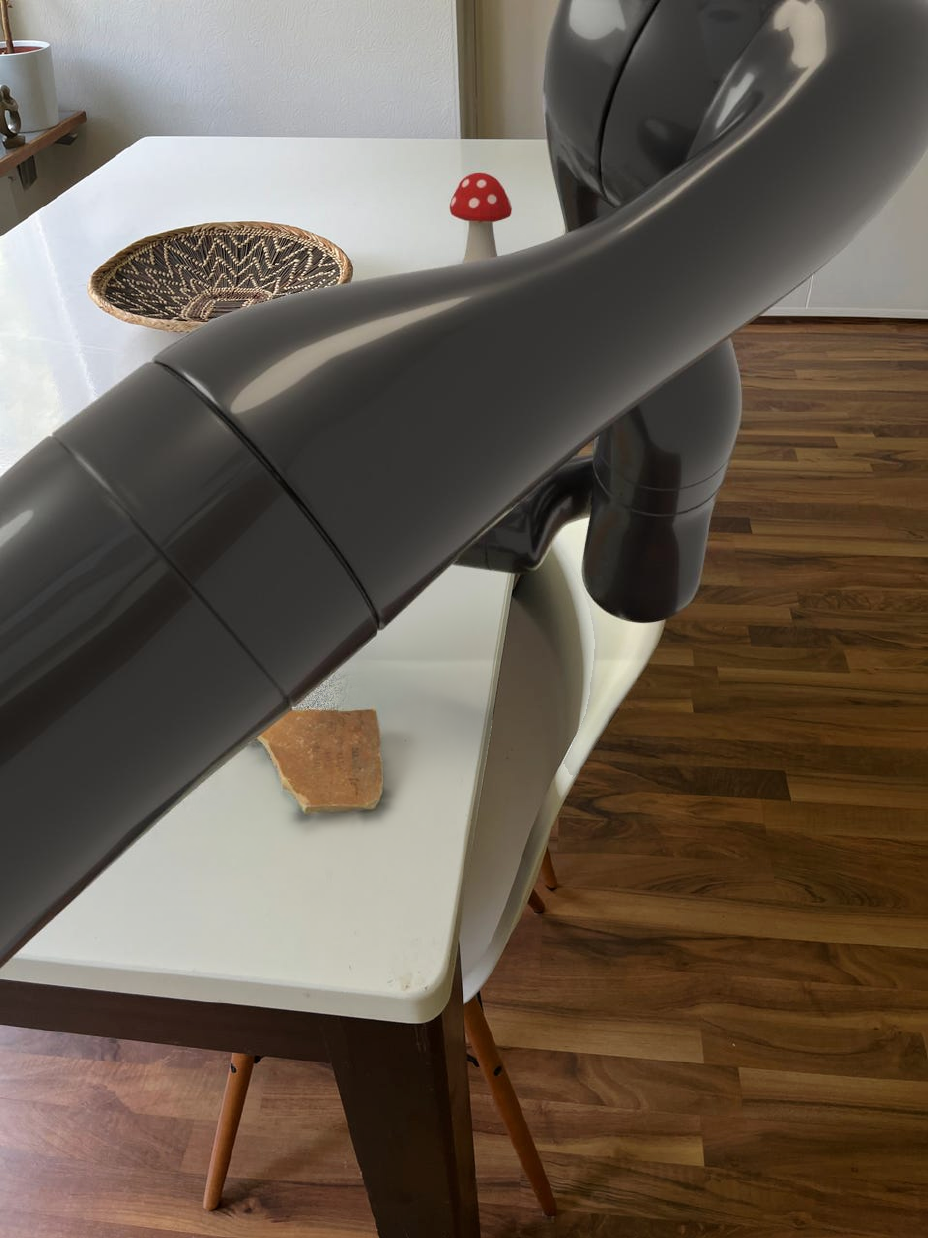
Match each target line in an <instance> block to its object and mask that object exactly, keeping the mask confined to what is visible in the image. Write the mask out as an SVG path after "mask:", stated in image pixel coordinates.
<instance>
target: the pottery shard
mask: <svg viewBox="0 0 928 1238" xmlns="http://www.w3.org/2000/svg"><path fill="white" fill-rule="evenodd" d="M377 713H378V712H377V709H375V708H363V709H355V710H338V709H323V708H322V709H318V708H314V709H313V708H312V709H292V710H291V711H290V712H288V713H287V714H286V715H285V716H283V717H282V718H281V719H280V720H278V721H277V722H276V723H275V724H274V725H272V726H271V727H270V728H269V729H267V730H266V731H265V732H264V733H262V734H261V735H260V736H259V737H257V738H256V739H255V740H257V741H258V742H259V743H261V744H262V745H263V747H264V748H265V749H266V751H267V752H268V754H269V757H270V759H271V761H272V762H273V764H274V766H275V767H276V769H277V771H278V774H279V780H280V783H281V788H282V789H284V790H286V791H287V792H288V793H290V794H291V795H292V796H293V797H294V799H295V800H296V801H297V802H298V804H299V805H300V808H301V809H302V812H303V813H304V814H305V815H312V814H314V813H323V812H333V813H334V812H335V813H337V812H339V813H340V812H350V811H351V812H352V811H357V810H374V809H376V806H377V805H378V803H379V802H380V799H381V797H382V795H383V786H384V785H383V784H384V783H383V782H384V780H383V758H382V757H381V753H380V747H381V744H382V738H381V731H380V726H379V725H380V724H379V719H378V714H377Z"/></svg>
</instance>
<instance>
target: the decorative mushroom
mask: <svg viewBox="0 0 928 1238" xmlns="http://www.w3.org/2000/svg"><path fill="white" fill-rule="evenodd" d="M512 211H513V208H512V203H511V200H510V198H509V197H508V195H507V193H506V191H505V188H504V187H503V185H502V184H501V182H500V181H499V180H498V179H497V178H496V177H494V176H493V175H491V174H489V173H486V172H473V173H471V174H468V175H466V176H465V177H464V178H462V179H461V180H460V182H459V183H458V185H457V187H456V189H455V191H454V194H453V196H452V198H451V199H450V204H449V212H450V214H451V215H452V216H453V217H455V218H458V219H460V220H463V221H466V222H468V232H467V239H466V246H465V252H464V257H463V260H462V263H461V264H463V263H468V262H473V261H478V260H483V259H487V258H492V257H497V256H498V253H497V247H496V239H495V233H494V223H495V222H499V221H503V220H505V219H508V218H510V217H511V215H512Z"/></svg>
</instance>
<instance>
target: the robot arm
mask: <svg viewBox="0 0 928 1238" xmlns="http://www.w3.org/2000/svg"><path fill="white" fill-rule="evenodd" d="M544 54H545V55H544V59H543V60H544V62H543V71H542V115H543V123H544V132H545V141H546V147H547V152H548V157H549V163H550V166H551V172H552V177H553V182H554V185H555V189H556V193H557V198H558V202H559V206H560V210H561V211H560V212H561V215H562V219H563V224H564V227H565V234H562V235H560V236H558V237H555V238H553V239H551V240H549V241H545V242H542V243H539V244H536V245H532V246H530V247H527V248H523V249H520V250H517V251H514V252H511V253H508V254H502V255H497V257H492V258H487V259H483V260H478V261H473V262H468V263H463V264H462V263H459V264H453V265H447V266H439V267H433V268H428V269H421V270H414V271H408V272H403V273H396V274H389V275H384V276H378V277H372V278H367V279H362V280H356V281H349V282H344V283H340V284H339V283H338V284H335V285H329V286H324V287H320V288H314V289H310V290H304V291H300V292H294V293H290V294H286V295H283V296H280V297H276V298H273V299H269V300H266V301H263V302H259V303H255V304H252V305H249V306H244V307H242V308H238V309H234V310H232V311H230V312H227V313H225V314H223V315H219V316H218V317H215V318H212V319H211V320H209V321H207V322H205V323H202V324H201V325H199V326H197V327H196V328H194V329H192V330H191V331H188V332H187V333H186V334H184V335H183V336H181V337H180V338H178V339H177V340H175V341H174V342H172V343H171V344H169V345H168V346H166V347H165V348H163V349H162V350H161V351H159V352H158V353H157V354H155V355H153V356H152V358H151V360H150V361H147V362H144V363H143V364H142V365H140V366H139V367H138V368H136V369H135V370H134V371H131V373H130V374H128V375H127V376H125V378H123V379H122V380H120V381H119V382H118V383H117V384H115V385H114V386H112V387H111V388H109V390H107V391H106V392H104V393H103V394H102V395H100V396H99V397H97V398H96V399H95V400H93V402H91V403H90V404H88V405H87V406H86V407H84V408H83V409H82V410H81V411H79V412H78V413H76V414H75V415H74V416H73V417H71V418H70V419H68V420H67V421H65V422H64V423H63V424H62V425H60V426H59V427H57V428H56V429H55V430H54V431H52V432H51V435H47V436H46V437H45V438H43V439H42V440H41V441H40V442H38V443H37V444H36V445H35V446H33V448H31V449H30V450H29V451H28V452H27V453H26V454H24V455H23V456H22V457H21V458H20V459H19V460H18V461H15V463H14V464H13V465H11V467H9V468H8V469H7V470H6V471H5V472H4V473H3V474H2V475H0V970H1V969H2V968H3V967H4V966H5V965H6V964H7V963H8V962H9V961H10V960H11V959H13V957H15V956H16V955H17V954H18V952H20V950H22V949H23V948H24V947H25V946H26V945H27V944H29V942H30V941H31V940H32V939H33V938H34V937H35V936H36V935H37V934H39V933H40V932H41V931H42V930H43V929H44V928H45V927H46V926H47V925H49V923H51V922H52V921H53V920H54V919H55V918H56V917H57V916H58V915H59V914H61V912H63V911H64V910H65V909H66V908H67V907H68V906H69V905H71V904H72V903H73V902H74V901H75V900H76V899H77V898H78V897H79V896H80V895H81V894H82V893H84V891H86V890H87V889H88V888H89V887H90V886H91V885H92V884H93V883H94V882H95V881H96V880H97V879H98V878H100V876H102V875H103V874H104V873H105V872H106V871H107V870H108V869H109V868H110V867H112V866H113V865H114V864H115V862H117V861H118V860H119V859H120V858H121V857H122V856H124V854H125V853H126V852H127V851H129V850H130V849H131V848H132V847H133V846H134V845H136V843H137V842H138V841H139V840H141V839H142V838H143V837H144V836H145V835H146V834H147V833H148V832H150V831H151V829H152V828H153V827H155V826H156V825H157V824H158V823H159V822H160V821H162V820H163V818H164V817H166V816H167V815H168V814H169V813H170V812H171V811H173V809H174V808H175V807H177V806H178V805H179V804H181V802H182V801H183V800H185V799H186V798H187V797H188V796H189V795H190V794H191V793H193V792H194V791H195V790H197V789H198V787H200V786H201V785H202V784H203V783H204V782H205V781H207V780H208V779H209V778H210V777H212V776H213V775H214V774H215V773H216V772H217V771H218V770H220V769H221V768H222V767H223V766H225V765H226V764H227V763H228V762H229V761H231V759H233V758H234V757H236V756H237V755H238V754H240V752H241V751H243V750H244V749H245V748H246V747H248V746H249V745H250V744H251V743H253V742H254V741H255V740H257V739H256V738H257V737H259V736H260V735H261V734H262V733H264V732H265V731H266V730H267V729H269V728H270V727H271V726H272V725H274V724H275V723H276V722H277V721H278V720H280V719H281V718H282V717H283V716H285V715H286V714H287V713H288V712H290V711H291V710H293V708H295V707H297V706H298V705H299V704H301V702H302V701H304V700H305V699H306V698H307V697H308V696H310V695H311V693H313V692H314V691H315V690H316V689H317V688H318V687H320V685H322V684H323V683H324V682H326V681H327V679H329V678H330V677H331V676H332V675H334V674H335V672H337V671H338V670H339V669H340V668H341V667H343V665H345V664H346V663H347V662H348V661H349V660H351V658H353V657H354V656H355V655H356V654H357V653H358V652H359V651H361V650H362V649H363V648H364V647H365V646H367V645H368V644H369V642H371V641H372V640H374V638H376V637H377V634H378V632H379V631H383V630H384V629H385V628H387V627H388V626H389V625H390V624H392V622H393V621H394V620H395V619H396V618H397V617H398V616H399V615H400V614H401V613H402V612H404V610H406V609H407V608H408V607H409V606H410V605H411V604H412V603H413V602H414V601H415V600H416V599H417V598H418V597H419V596H421V594H423V593H424V592H425V590H427V589H428V588H429V587H430V586H431V585H432V584H433V583H434V582H435V581H436V580H437V579H438V578H439V577H440V576H441V575H443V574H444V573H445V572H446V571H447V570H448V569H449V568H450V567H451V566H454V567H461V568H468V569H475V570H483V571H488V572H489V571H490V572H497V573H503V574H504V573H505V574H513V575H527V574H531V573H533V572H535V571H537V570H538V568H540V566H541V565H542V564H543V563H544V561H545V560H546V558H547V556H548V554H549V552H550V550H551V548H552V546H553V544H554V542H555V540H556V539H557V537H558V535H559V533H561V531H562V530H563V529H564V528H565V527H566V526H568V525H570V524H573V523H576V522H578V521H580V520H581V521H582V520H585V519H588V524H587V530H586V536H585V541H584V547H583V553H582V560H581V568H580V569H581V571H580V572H581V578H582V579H581V580H582V582H583V586H584V588H585V590H586V592H587V594H588V595H589V597H590V598H591V599H592V601H593V602H594V603H595V604H596V605H597V606H598V607H599V608H600V609H602V611H604V612H606V613H607V614H609V615H610V616H612V617H614V618H616V619H619V620H622V621H625V622H629V623H635V624H652V623H658V622H661V621H664V620H667V619H670V618H671V617H674V616H676V615H678V614H680V613H681V612H682V611H684V610H685V609H686V608H687V607H688V606H689V605H690V604H691V603H692V601H693V600H694V598H695V597H696V596H697V593H698V590H699V587H700V586H701V585H700V584H701V579H702V575H703V574H702V573H703V568H704V563H705V557H706V550H707V543H708V538H709V531H710V525H711V518H712V515H713V511H714V508H715V504H716V502H717V500H718V499H717V498H718V496H719V493H720V491H721V488H722V487H723V485H724V483H725V482H724V481H725V480H726V476H727V475H728V474H727V473H728V471H729V467H730V463H731V460H732V456H733V453H734V449H735V446H736V443H737V438H738V434H739V431H740V427H741V422H742V415H743V411H742V410H743V387H742V380H741V373H740V369H739V364H738V359H737V354H736V350H735V347H734V343H733V340H732V337H733V336H734V335H736V334H737V333H739V332H740V331H742V330H743V329H744V328H745V327H747V326H748V325H749V324H750V323H752V322H754V321H755V320H757V319H758V318H759V317H760V316H762V315H763V314H764V313H766V312H768V311H769V310H770V309H771V308H772V307H774V306H775V305H776V304H778V303H779V302H780V301H782V300H783V299H784V298H785V297H787V296H789V294H791V293H792V292H793V291H794V290H796V289H797V288H799V287H800V286H801V285H802V284H804V283H805V282H806V281H808V280H809V279H810V278H811V277H812V276H814V275H815V274H816V273H817V272H818V271H820V270H821V269H822V268H823V267H824V266H825V265H827V264H828V263H829V262H830V261H832V259H833V258H835V257H836V256H837V255H838V254H839V253H840V252H842V251H843V250H844V249H845V248H846V247H847V246H848V245H849V244H850V243H851V242H853V241H854V239H855V238H856V237H857V236H858V235H859V234H860V233H861V232H862V231H863V230H865V228H867V226H868V225H869V224H870V223H871V222H872V221H874V219H875V218H876V217H877V216H878V215H879V214H880V213H881V212H882V211H883V210H884V208H886V206H887V205H888V204H889V203H890V201H892V199H893V198H894V197H895V196H896V195H897V193H898V192H899V191H900V190H901V188H902V187H903V186H904V184H905V183H906V182H907V181H908V179H909V178H910V176H911V175H912V174H913V173H914V171H915V170H916V168H917V167H918V165H919V164H920V163H921V161H923V160H922V159H923V158H924V157H925V156H926V154H927V152H928V0H558V2H557V6H556V9H555V12H554V16H553V18H552V23H551V27H550V30H549V33H548V37H547V41H546V48H545V53H544ZM592 441H593V442H592ZM591 442H592V452H591V453H585V454H579V455H578V453H579V452H581V450H583V449H584V448H585V447H586V446H588V445H589V444H590V443H591Z"/></svg>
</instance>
